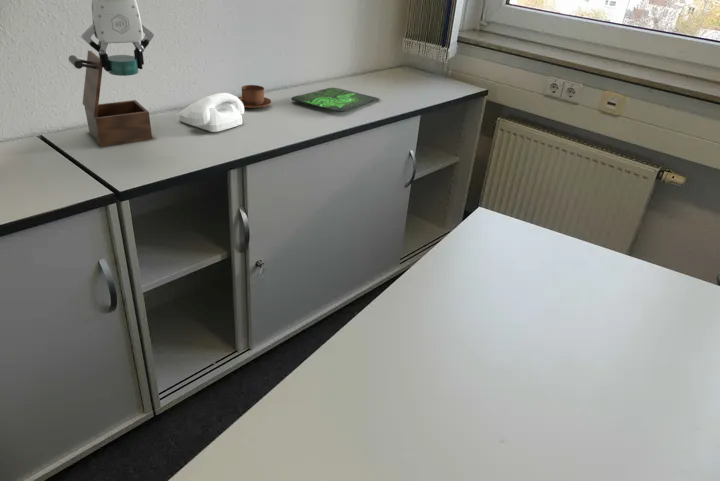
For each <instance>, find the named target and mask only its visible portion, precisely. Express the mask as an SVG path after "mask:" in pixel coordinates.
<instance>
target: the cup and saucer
mask: <svg viewBox="0 0 720 481" xmlns="http://www.w3.org/2000/svg"><path fill="white" fill-rule="evenodd" d="M237 98H238V99H239V100H240V101H241V102H242V103H243V105H244V109H252V110H253V109H254V110H255V109H257V110H258V109H264V108H266V107H269V106H270V105H271V104H272V100H271V99H270V98H267V97H265V87H264V86H261V85H258V84H257V85H256V84H247V85H242V86H241V96H237Z"/></svg>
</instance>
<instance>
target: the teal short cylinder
mask: <svg viewBox="0 0 720 481" xmlns="http://www.w3.org/2000/svg"><path fill="white" fill-rule="evenodd" d="M108 60H109V66H110V71H109V72H108V74H110V75H113V76H118V77H119V76H120V77H128V76H134V75H137V74H139V72H140V71H139V70H140V69H139V68H138V62H137V58H136V57H135V56H134V55H130V54H129V55H128V54H115V55H108Z"/></svg>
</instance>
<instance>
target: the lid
mask: <svg viewBox="0 0 720 481" xmlns="http://www.w3.org/2000/svg"><path fill="white" fill-rule="evenodd" d="M86 56H87V57H86V60H85V59H82V58H81V59H80V58H78V57H77V56H76V55H73V54H72V55H69V57H68V61H69V63H70V64H71V65H72V66H74V67H75V68H76V69H77V70H81V69H82V68H85V78H84V86H83V96H82V105H83V106H85V107H86V108H87V110H88V111H89V112H90V113H91V114H92V115H93V116H94V117H97V112H98V104H100V95H101V94H100V93H101V85H102V77H103V70H104V68H103V67H101V64H100V57H99V55H97V54H96V53H94V52H93V51H92V50H89V49H88V50H87V55H86ZM85 107H84V108H85Z"/></svg>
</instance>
